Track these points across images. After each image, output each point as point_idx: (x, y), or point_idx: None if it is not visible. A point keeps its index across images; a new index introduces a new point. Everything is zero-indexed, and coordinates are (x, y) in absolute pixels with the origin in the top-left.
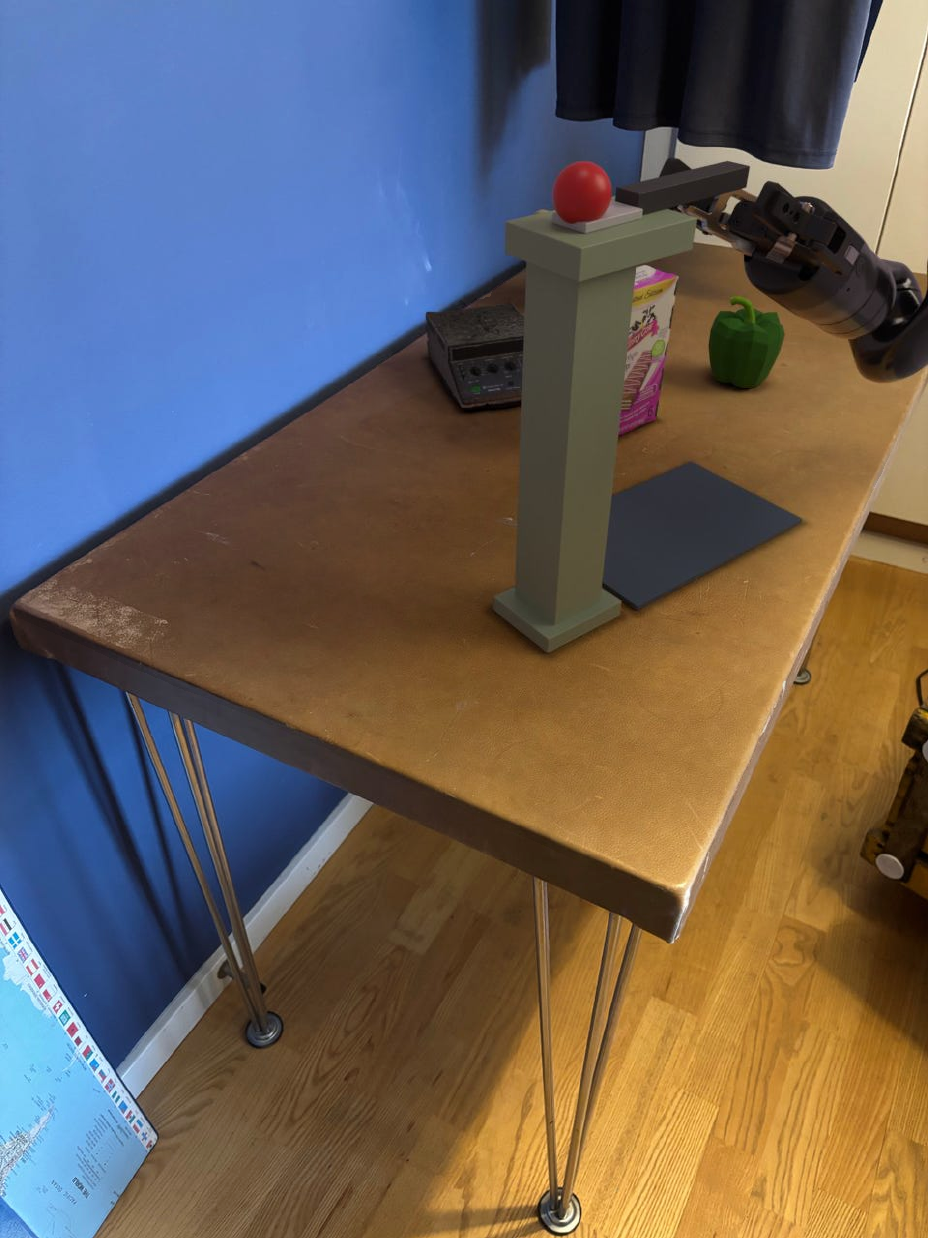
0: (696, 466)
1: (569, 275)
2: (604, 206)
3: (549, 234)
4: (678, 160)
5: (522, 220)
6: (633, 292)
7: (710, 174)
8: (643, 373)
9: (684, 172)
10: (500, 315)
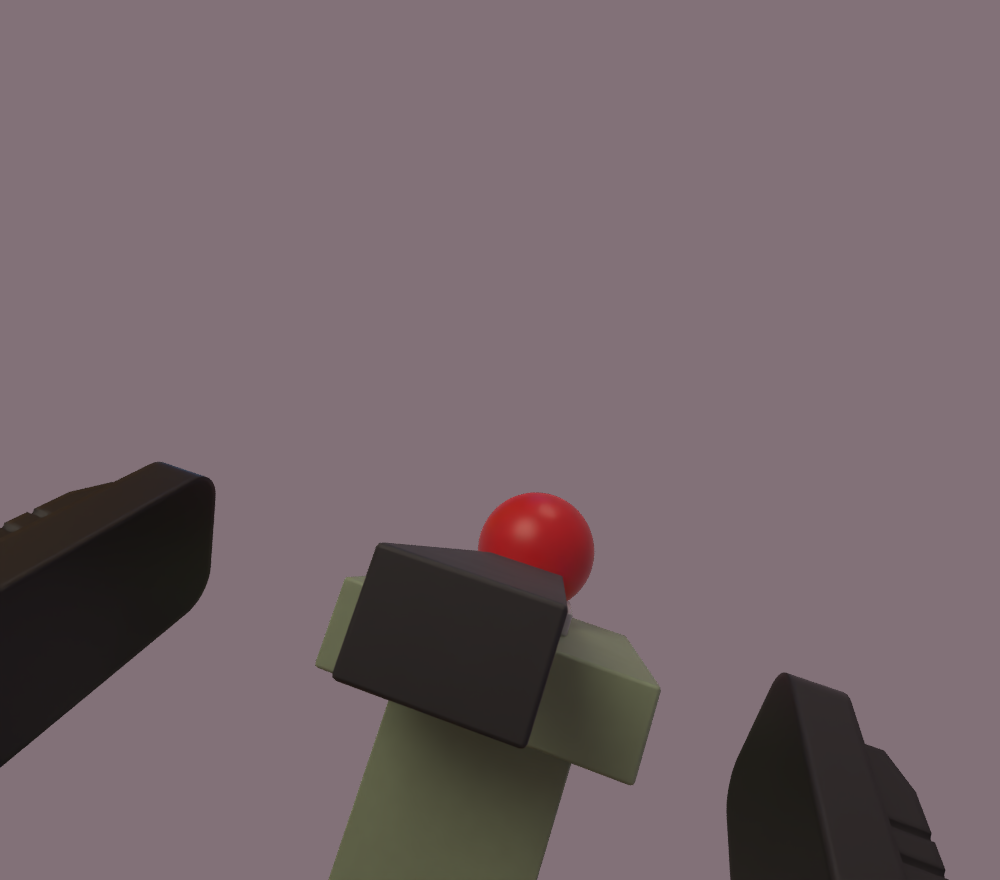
0: None
1: None
2: (478, 545)
3: None
4: (786, 687)
5: (609, 632)
6: (376, 737)
7: (453, 550)
8: None
9: (545, 579)
10: None
